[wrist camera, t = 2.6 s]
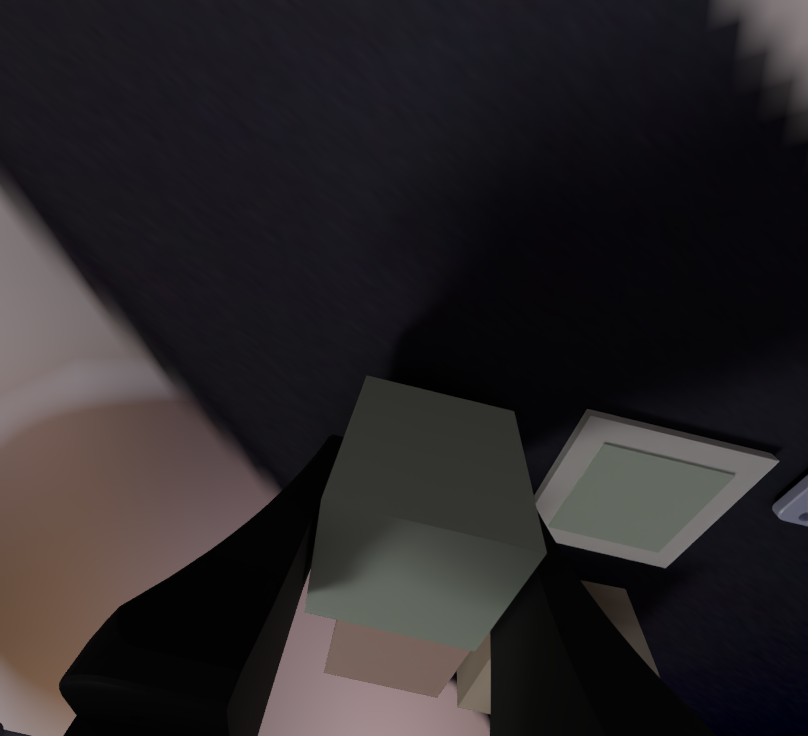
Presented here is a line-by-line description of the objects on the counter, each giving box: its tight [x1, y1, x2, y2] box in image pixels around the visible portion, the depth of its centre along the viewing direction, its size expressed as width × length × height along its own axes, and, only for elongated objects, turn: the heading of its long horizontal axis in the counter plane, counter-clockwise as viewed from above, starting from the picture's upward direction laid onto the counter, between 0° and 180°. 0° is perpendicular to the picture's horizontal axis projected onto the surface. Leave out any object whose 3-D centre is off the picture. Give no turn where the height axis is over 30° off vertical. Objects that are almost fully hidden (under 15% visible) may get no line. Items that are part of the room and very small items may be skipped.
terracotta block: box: [324, 620, 470, 697], centre depth 17 cm, size 5×5×5 cm
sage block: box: [305, 376, 547, 652], centre depth 11 cm, size 5×5×5 cm
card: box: [534, 409, 779, 568], centre depth 15 cm, size 7×7×1 cm
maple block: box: [457, 580, 660, 714], centre depth 19 cm, size 7×7×4 cm
